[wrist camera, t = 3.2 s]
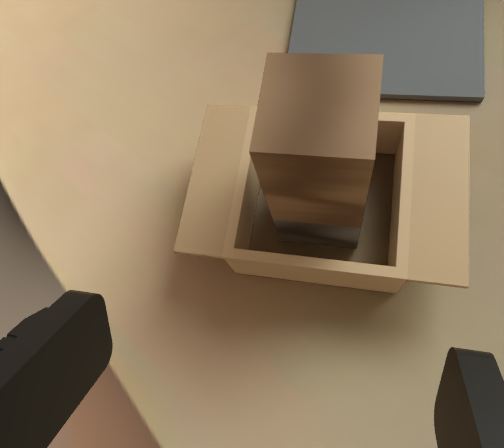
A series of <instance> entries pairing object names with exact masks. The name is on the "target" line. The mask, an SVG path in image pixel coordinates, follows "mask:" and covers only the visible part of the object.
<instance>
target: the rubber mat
mask: <svg viewBox="0 0 504 448" xmlns="http://www.w3.org/2000/svg"><path fill="white" fill-rule="evenodd" d="M288 53H326V54H384V57H383V69H382V81H381V93H380V98H387V99H415V100H444V101H473V102H482V101H483V99H484V0H297V1H296V7H295V13H294V19H293V25H292V31H291V37H290V43H289V49H288Z"/></svg>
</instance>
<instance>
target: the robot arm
mask: <svg viewBox="0 0 504 448" xmlns="http://www.w3.org/2000/svg"><path fill="white" fill-rule="evenodd" d="M111 354H112V338H111V333H110V327H109V322H108V317H107V311H106V306H105V301H104V298H103V297H102V296H101V295H100V294H95V293H89V292H82V291H75V290H70V291H67V292H66V293H64V294H63V295H62V296H61V297H60V298H59V299H58V300H57V301H56V302H54V304H52V305H51V306H50V307H49V308H47V307H46V308H44V309H42V310H40V311H39V312H37V313H35V314H33V315H31V316H29V317H27V318H25V319H24V320H23V321H22V322H20V323H19V324H18V325H17V326H16V327H15V328H14V329H12V331H10V332H9V333H8V334H7V337H6V338H5V337H3V338H2V339H1V340H0V448H47V447H48V446H49V444H50V443H51V442H52V440H53V439H54V437H55V436H56V435H57V433H58V432H59V431H60V429H61V428H62V427H63V425H64V424H65V423H66V421H67V420H68V419H69V417H70V416H71V414H72V413H73V412H74V410H75V409H76V408H77V406H78V405H79V404H80V402H81V401H82V400H83V398H84V397H85V395H86V394H87V393H88V391H89V390H90V388H91V387H92V386H93V385H94V383H95V382H96V381H97V379H98V378H99V376H100V375H101V374H102V372H103V371H104V370H105V368H106V367H107V365H108V363H109V360H110V358H111ZM434 426H435V434H436V440H437V446H438V448H504V380H503V378H502V375H501V373H500V370H499V367H498V365H497V362H496V360H495V358H494V356H493V354H491V353H488V352H482V351H475V350H468V349H461V348H455V347H451V348H450V349H449V351H448V354H447V357H446V361H445V365H444V369H443V373H442V377H441V381H440V385H439V389H438V393H437V397H436V401H435V409H434Z"/></svg>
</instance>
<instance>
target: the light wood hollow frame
mask: <svg viewBox="0 0 504 448" xmlns="http://www.w3.org/2000/svg"><path fill="white" fill-rule="evenodd" d="M256 111H257V107H247V106H223V105H207V107H206V111H205V116H204V120H203V124H202V129H201V133H200V137H199V142H198V146H197V150H196V155H195V159H194V163H193V168H192V172H191V176H190V181H189V185H188V189H187V194H186V198H185V202H184V207H183V211H182V215H181V220H180V224H179V228H178V233H177V237H176V241H175V246H174V250H173V251H174V252H175V253H179V254H188V255H196V256H204V257H212V258H221V259H224V260H225V261H226V262H227V264H228V265H229V266H230V267H231V268H232V269H233V270H234V271H235V273H240V274H247V275H255V276H263V277H271V278H279V279H287V280H294V281H302V282H310V283H318V284H326V285H334V286H341V287H349V288H357V289H365V290H373V291H381V292H388V293H397V292H398V291H399V289H400V288H401V287H402V286H403V284H404V283H405V282H406V281H411V282H419V283H427V284H435V285H444V286H452V287H460V288H468V287H469V165H470V116H463V115H439V114H415V113H391V112H379V118H378V130H377V142H376V153H382V154H395V164H394V180H393V195H392V210H391V225H390V240H389V256H388V266H384V265H375V264H366V263H358V262H349V261H340V260H331V259H323V258H314V257H305V256H297V255H288V254H279V253H271V252H262V251H253V250H249V246H250V240H251V234H252V228H253V223H254V217H255V211H256V205H257V200H258V194H259V188H260V182H259V179H258V176H257V173H256V170H255V168H254V165H253V162H252V159H251V156H250V153H249V148H250V143H251V138H252V132H253V127H254V122H255V116H256Z"/></svg>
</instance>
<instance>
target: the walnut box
mask: <svg viewBox="0 0 504 448" xmlns="http://www.w3.org/2000/svg"><path fill="white" fill-rule="evenodd" d="M383 57H384V54H326V53H267V58H266V63H265V68H264V74H263V79H262V84H261V90H260V95H259V100H258V106H257V111H256V116H255V122H254V127H253V132H252V138H251V143H250V148H249V153H250V156H251V159H252V162H253V165H254V168H255V170H256V173H257V176H258V179H259V182H260V185H261V187H262V190H263V193H264V196H265V199H266V202H267V204H268V207H269V210H270V213H271V216H272V219H273V221H274V224H275V227H276V230H277V233H278V236H279V239H280V240H283V241H292V242H301V243H310V244H320V245H329V246H338V247H347V248H357V244H358V239H359V234H360V229H361V224H362V220H363V215H364V210H365V205H366V201H367V196H368V191H369V186H370V181H371V177H372V172H373V167H374V162H375V154H376V142H377V130H378V118H379V105H380V93H381V81H382V69H383Z"/></svg>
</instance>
